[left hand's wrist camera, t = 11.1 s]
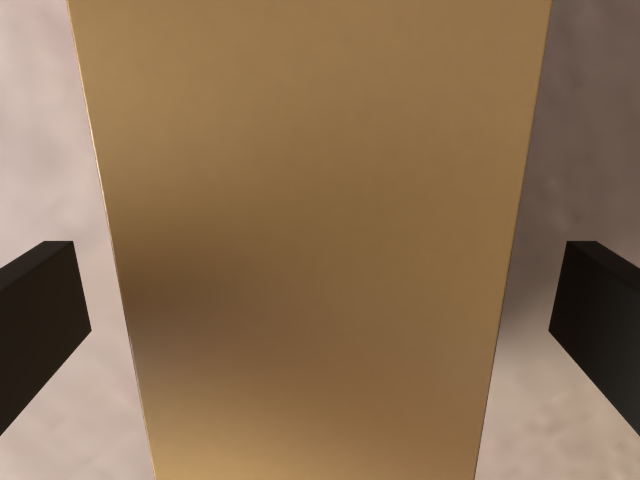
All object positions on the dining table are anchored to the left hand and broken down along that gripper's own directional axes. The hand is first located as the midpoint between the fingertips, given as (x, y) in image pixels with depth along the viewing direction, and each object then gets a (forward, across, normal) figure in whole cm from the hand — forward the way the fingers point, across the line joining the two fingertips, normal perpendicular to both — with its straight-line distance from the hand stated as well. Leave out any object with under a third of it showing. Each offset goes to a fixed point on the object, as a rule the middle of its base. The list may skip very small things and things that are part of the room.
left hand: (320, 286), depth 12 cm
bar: (+4, 0, -26) cm, 26 cm away
